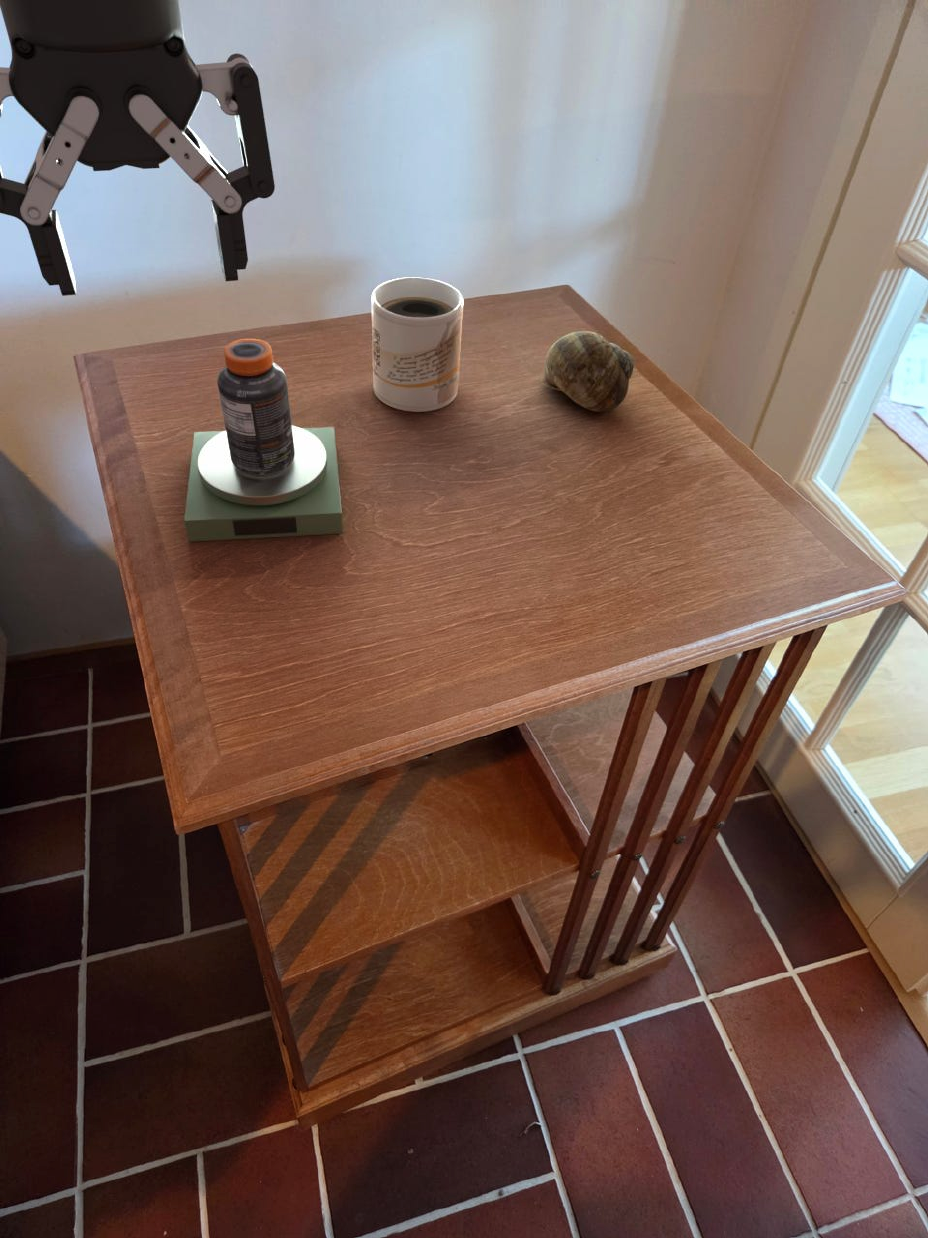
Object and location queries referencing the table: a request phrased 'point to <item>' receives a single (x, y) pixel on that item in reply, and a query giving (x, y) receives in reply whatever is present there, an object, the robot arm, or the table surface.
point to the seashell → (589, 370)
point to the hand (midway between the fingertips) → (151, 282)
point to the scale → (263, 491)
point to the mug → (416, 343)
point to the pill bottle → (255, 408)
